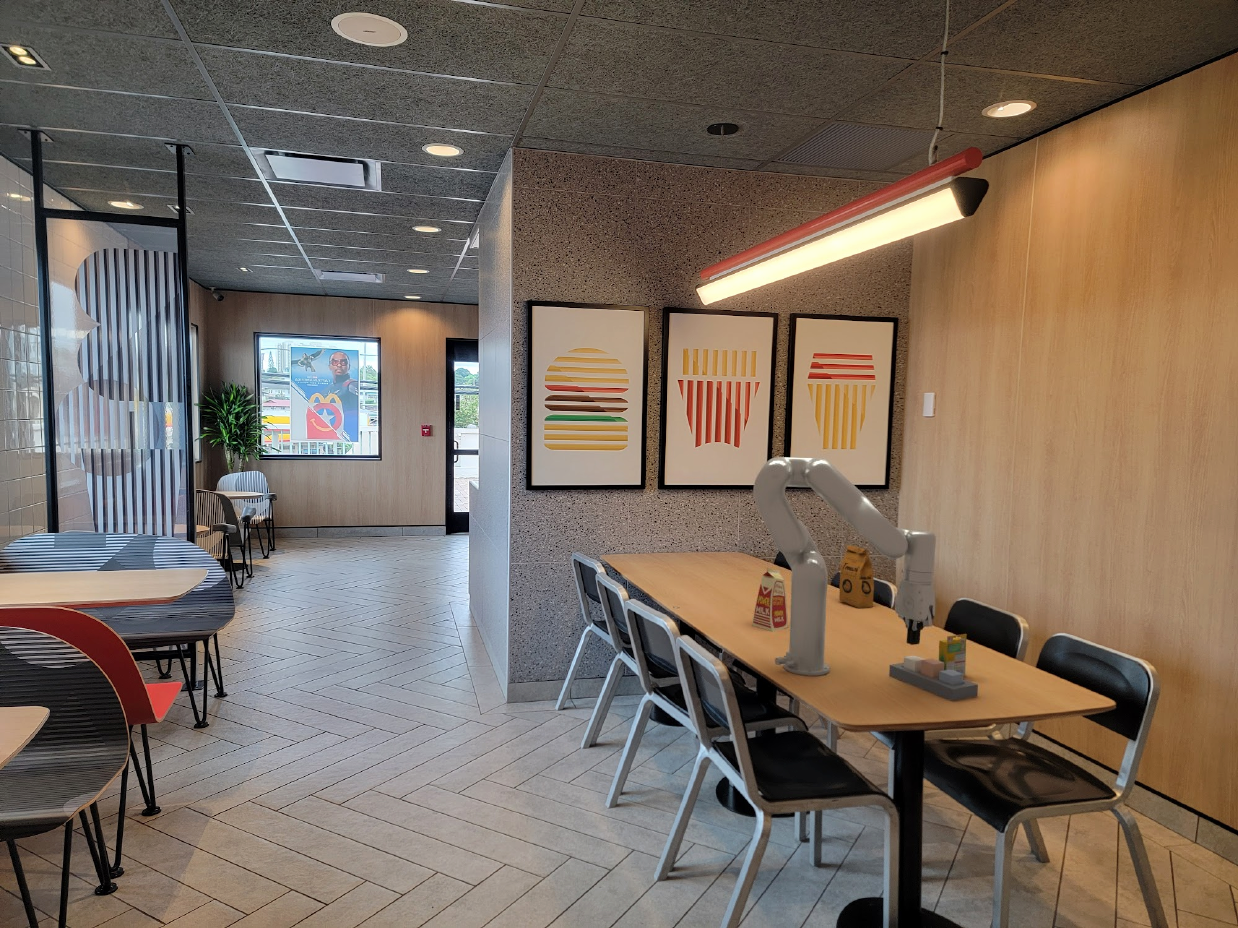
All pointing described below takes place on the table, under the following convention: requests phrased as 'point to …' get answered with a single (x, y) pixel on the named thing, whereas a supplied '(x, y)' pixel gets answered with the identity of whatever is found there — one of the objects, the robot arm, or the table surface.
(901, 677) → the panel
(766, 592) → the milk carton
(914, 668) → the ivory key
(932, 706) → the table surface
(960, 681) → the slate key
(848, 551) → the coffee package
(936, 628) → the table surface
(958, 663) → the crayon box
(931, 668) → the terracotta key
